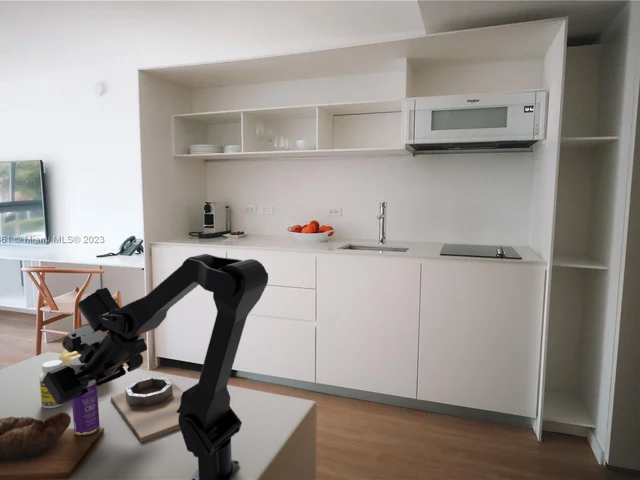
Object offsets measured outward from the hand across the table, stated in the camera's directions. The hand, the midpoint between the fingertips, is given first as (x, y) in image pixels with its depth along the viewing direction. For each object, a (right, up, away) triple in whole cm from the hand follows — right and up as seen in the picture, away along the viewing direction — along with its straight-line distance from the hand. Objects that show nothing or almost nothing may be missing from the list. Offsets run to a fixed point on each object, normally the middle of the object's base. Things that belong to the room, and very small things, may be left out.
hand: (79, 391), depth 89 cm
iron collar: (+9, -6, +13) cm, 17 cm away
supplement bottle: (-12, -7, +11) cm, 18 cm away
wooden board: (+13, -7, +9) cm, 17 cm away
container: (+1, -8, 0) cm, 8 cm away
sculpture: (-11, -6, +22) cm, 25 cm away
